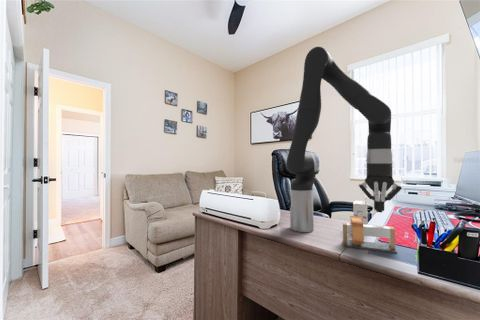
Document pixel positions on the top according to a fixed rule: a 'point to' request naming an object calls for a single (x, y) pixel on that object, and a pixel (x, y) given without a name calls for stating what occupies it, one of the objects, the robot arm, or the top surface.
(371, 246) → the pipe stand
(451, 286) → the top surface
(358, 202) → the ink cartridge box
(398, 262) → the top surface
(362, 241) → the tan cardboard carton
